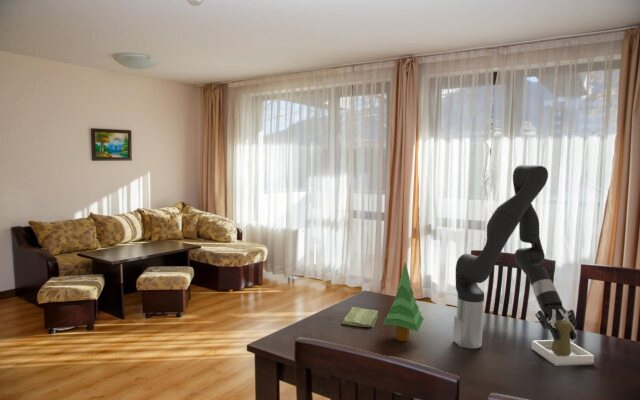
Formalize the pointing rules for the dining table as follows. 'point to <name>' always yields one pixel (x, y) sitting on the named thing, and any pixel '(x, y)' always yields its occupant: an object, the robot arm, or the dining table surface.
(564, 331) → the cork
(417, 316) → the decorative tree
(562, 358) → the tray
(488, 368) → the dining table surface
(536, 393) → the dining table surface
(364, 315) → the washcloth
